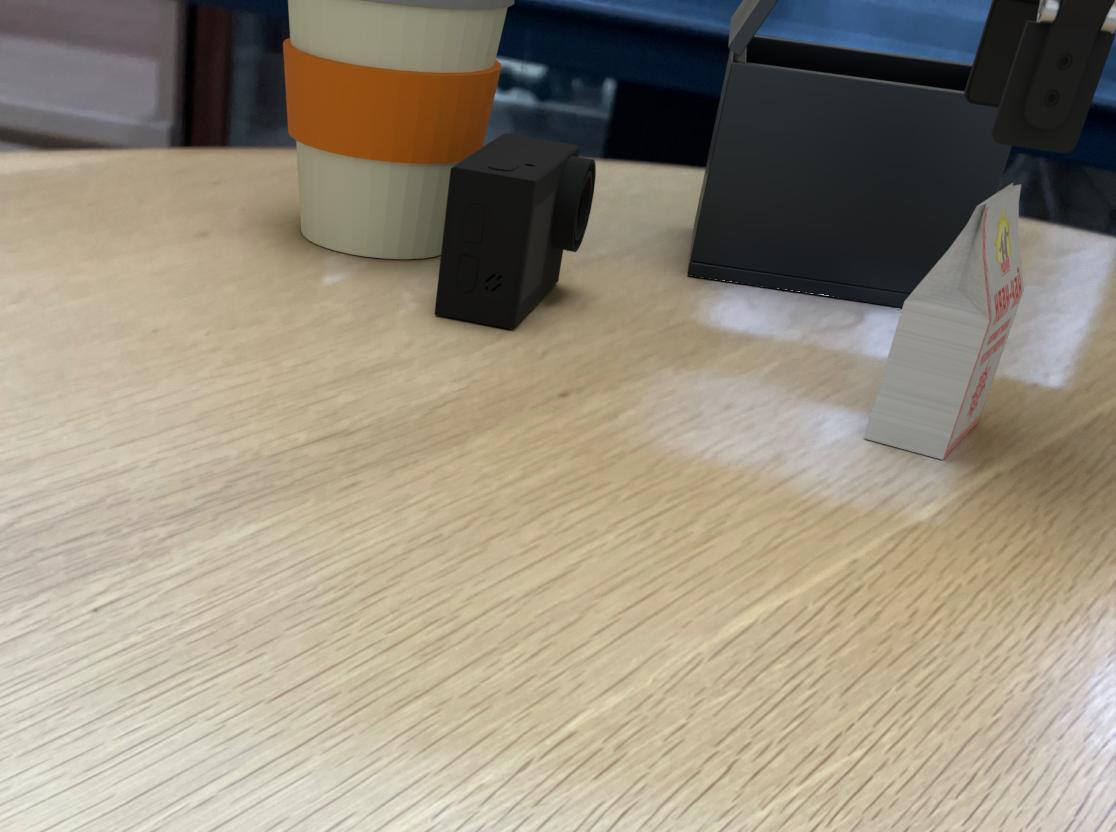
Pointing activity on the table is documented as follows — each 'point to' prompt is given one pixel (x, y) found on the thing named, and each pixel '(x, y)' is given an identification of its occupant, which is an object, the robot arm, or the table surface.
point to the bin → (840, 170)
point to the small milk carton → (952, 335)
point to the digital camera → (511, 227)
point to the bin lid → (747, 22)
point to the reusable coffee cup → (386, 115)
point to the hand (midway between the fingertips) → (1013, 125)
